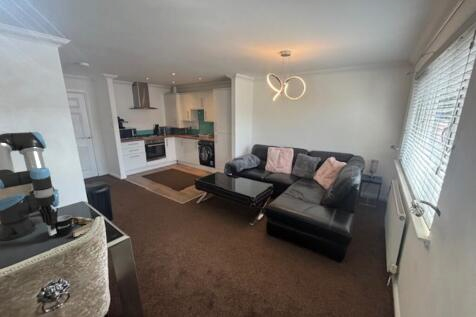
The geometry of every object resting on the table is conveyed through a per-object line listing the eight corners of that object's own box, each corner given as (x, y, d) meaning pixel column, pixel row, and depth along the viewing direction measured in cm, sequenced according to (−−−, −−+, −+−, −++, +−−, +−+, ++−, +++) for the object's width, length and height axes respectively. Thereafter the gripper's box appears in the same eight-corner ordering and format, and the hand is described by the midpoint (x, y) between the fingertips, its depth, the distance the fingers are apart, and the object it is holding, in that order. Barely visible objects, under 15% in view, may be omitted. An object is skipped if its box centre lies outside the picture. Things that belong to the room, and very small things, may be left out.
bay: (52, 233, 119) (50, 227, 119) (75, 221, 133) (74, 216, 132) (75, 238, 115) (74, 232, 114) (97, 225, 128) (96, 219, 127)
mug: (54, 239, 112) (52, 223, 110) (52, 234, 118) (50, 218, 116) (80, 231, 121) (79, 216, 120) (77, 227, 127) (76, 212, 125)
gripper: (28, 197, 106) (37, 236, 110) (44, 199, 102) (53, 239, 107) (44, 192, 113) (52, 229, 117) (61, 194, 109) (68, 232, 114)
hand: (53, 234), depth 112 cm, fingers closed
